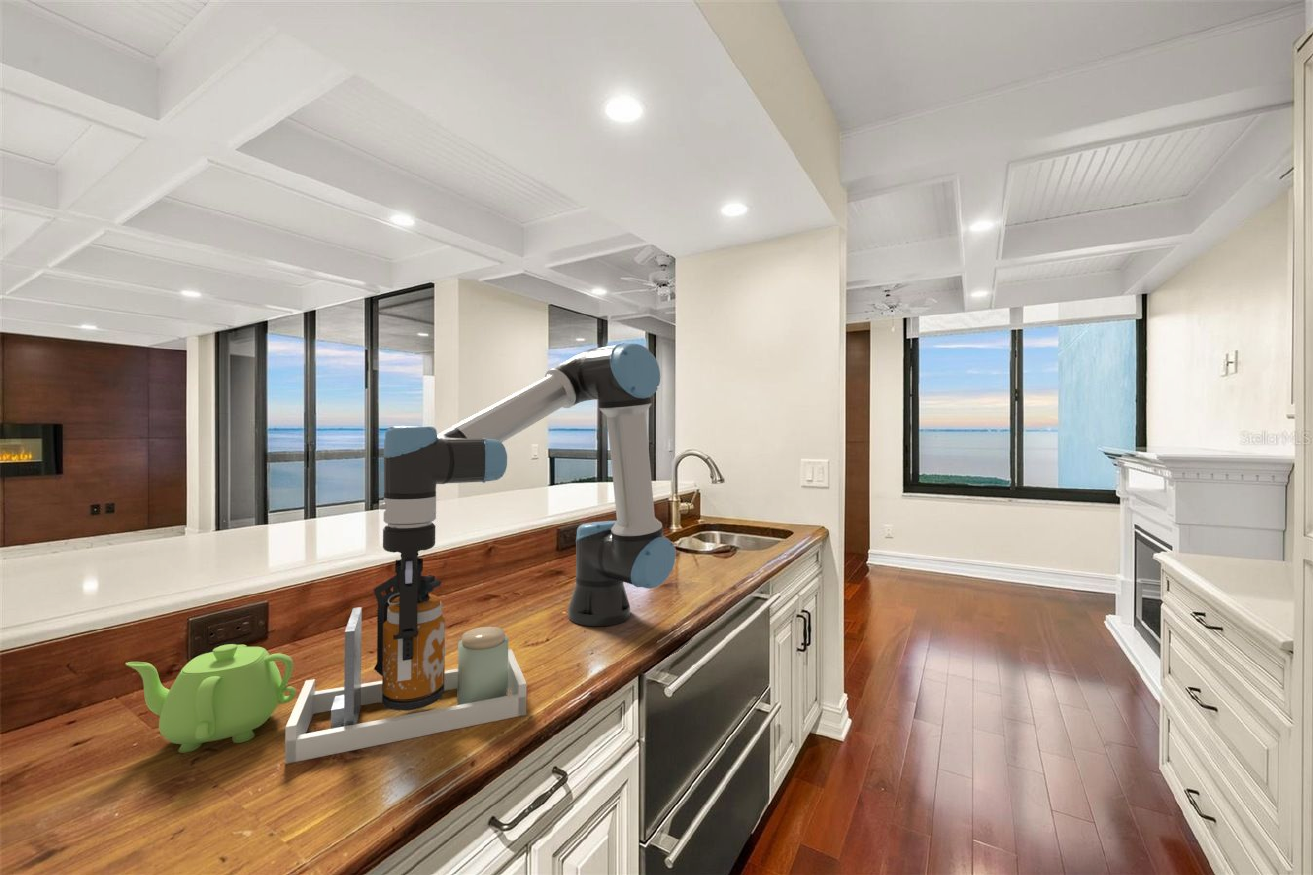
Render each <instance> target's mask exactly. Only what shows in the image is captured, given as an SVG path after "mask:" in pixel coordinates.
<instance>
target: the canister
mask: <svg viewBox="0 0 1313 875" xmlns="http://www.w3.org/2000/svg"><path fill="white" fill-rule="evenodd" d="M441 584H442V581H441V580H440V579H436V577H435V575H431V574H429V575H428V576H427V575H421V588H420V590H418V603H417V630H418V636H417V637H413V659H412V660H411V679H410V680H404V681H398V639H396V640H393V635H398V632H399V596H400V592H398V591H397V588H396V586H397V575H396V574H395V575H394V576H392V577H391V578H389V579H387V580H386V581H384V582H382V583H381V584H380V585H378V586H376V587H374V588H373V592H374V596H375V598H376V603H377V610H376V612H377V614H376V617H377V618H376V622H377V628H376V630H377V632H376V633H377V637H376V638H377V639H376V641H377V642H376V645H377V646H376V651H377V652H376V664H375V666H374V667H373V670H375V671H376V672H377V673H378V674H379V675H380V676H382V678H381V679H382V680H381V681H382V693H383V694H382V702H381V704H382V706H383V707H385V709H388V710H391V711H399V712H401V711H404V712H405V711H406V712H407V711H415V710H419V709H423V708H425V707H428V706H430V705H432V704H434V703H436V702H438V701H439V700H440V699H441V698H442V697H443V696H444V694H445V691H444V680H445V667H446V615H445V614H443V607H442V606H443V605H442V604H443V603H442V601H441V599H440V597H439V596H438V595H435V594H432V592H433V591H434V590H435V589H436V588H438V587H440V586H441ZM391 589H392V590H391ZM382 592H385V594H382ZM410 629H412V628H410ZM404 630H405V629H404ZM417 654H418V669H417ZM397 681H398V682H397Z"/></svg>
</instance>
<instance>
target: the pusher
mask: <svg viewBox="0 0 1313 875" xmlns="http://www.w3.org/2000/svg"><path fill="white" fill-rule="evenodd" d="M362 608H363V607H360V606H359V607H352V610H351V613H350V617H349V618H348V620H347V621H348V622H347V624H346V628H345V630H344V680H343V681H344V686H343V687H344V695H340V696H335V699H334V702H333V705H332V709H331V711H330V729H333V728H339V727H344V726H349V725H355V724H358V720H359V716H360V710H361V707H362V705H361V684H362V623H363V622H362V619H363V618H362V615H363V614H362V613H363V611H362Z"/></svg>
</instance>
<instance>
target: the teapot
mask: <svg viewBox="0 0 1313 875" xmlns="http://www.w3.org/2000/svg"><path fill="white" fill-rule="evenodd" d="M275 661H276V662H282V663H283V664H284V666H285V669H284V670H285V671H284V674H283V678H282V676H281V673H280V670H279V667H278V666H277V664H276V662H275ZM125 665H126V666H128V667H129V668H132V669H133V670H136V671H137V672H138V673H139V675H140V676H141V679H142V683H143V695H144V701H145V704H146V706H147V708H148V710H150V711H151V712H152V713H153V714H155V715H158V716H159V720H158V730H159V732H160V734H161V736H162V737H164V738H165V739H166V740H167V741H169V742H170V743H172V744H175V745H180V746H179V748H178V750H177V752H178V753H181V754H185V753H190V752H194V751H195V750H197V749H199V748H200V747H201V746H202V745H203V743H208V742H214V741H219V740H223V739H227V738H231V737H232V738H231V740H232V742H233V743H234V744H240V743H244V742H247V741H250V740H252V739H253V738H254V737H255V733H254V731H253V730H255V729H257V728H259V727H260V726H262V725H263V724H265V723H266V722H267V721H268V719H270V717H271V715H273V713H274V711H275V710H276V709H277V707H278V706H279V704H287V703H289V702H292V701H293V700H294V699H295V697H296V694H297V691H296V688H295V687H293V686H288V683H289V682H290V679H291V677H292V673H293V671H294V670H293V669H294V662H293V659H292V658H291V657H290V656H289V655H287V654H284V653H279V652H278V653H273V654H270V653H269V652H268V651H267V649H266V648H264V647H261V646H248V645H246V644H235V643H231V644H230V643H229V644H228V643H227V644H224V645H220V646H218V647H217V646H216V647H214V648H213V649H212V651H210V652H205V653H202V654H200V655H198V656H196V657H194V658H192V659H191V660H190V661H188V662H187V663H186V664H185V665H184V666H183V667H182V668H181V670H180V672H179V673H178V675H177V676H176V678H175V680H174V682H173V683H172V685H171V687H170V689H168V688H167V687H165V686H163V684H162V682H161V680H160V677H159V673H158V671H157V668H156V667H155V666H154V665H153V664H151V663H149V662H144V661H129V662H125ZM286 692H287V693H289V695H285V693H286Z"/></svg>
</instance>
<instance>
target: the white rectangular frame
mask: <svg viewBox="0 0 1313 875" xmlns="http://www.w3.org/2000/svg"><path fill="white" fill-rule="evenodd" d="M315 681H316V679H306V680H305V681H304V685H303V686H302V688H301V691H300V693H299V695H298V698H297V701H296V703H295V705H294V707H293V709H292V712H291V714H290V717H289V718H288V721H287V723H286V725H285V744H284V746H285V748H284V749H285V751H284V752H285V753H284V754H285V755H284V756H285V757H284V758H285V759H284V761H285V762H284V764H285V765H287V764H292V763H298V762H302V761H308V760H313V759H316V758H322V757H326V756H330V755H331V756H332V755H336V754H342V753H346V752H350V751H351V752H352V751H355V750H360V749H365V748H370V747H375V746H379V745H380V746H381V745H385V744H389V743H394V742H395V743H396V742H399V741H400V742H401V741H404V740H405V741H406V740H409V739H414V738H420V737H423V736H429V735H434V734H438V733H442V732H448V731H453V730H458V729H463V728H467V727H468V728H469V727H472V726H477V725H483V724H486V723H487V724H488V723H492V722H498V721H502V720H507V719H511V718H516V717H521V716H526V715H527V682H526V679H525V677H524V674H523V672H522V670H521V667H520V666H519V663H518V660H517V659H516V656H515V653H514V651H513V649H512V648H510V649H509V648H508V692H509V694H510V695H508V696H504V697H499V698H493V699H488V700H483V701H477V702H472V703H467V704H461V705H457V704H456V705H451V706H447V707H441V708H436V709H430V710H425V711H419V712H413V713H409V714H403V715H400V716H399V715H398V716H393V717H388V718H382V719H378V720H377V719H376V720H371V721H365V722H361V723H357V724H355V725H349V726H344V727H339V728H333V729H331V728H329V729H323V730H319V731H318V730H317V731H312V732H309V733H307V732H308V729H309V726H310V724H311V721H312V718H313V716H314V714H321V713H326V712H331V709H332V705H333V702H334V699H335V696H340V695H344V686H341V687H335V688H334V687H333V688H327V689H323V690H315V689H316V687H315V685H316V682H315ZM452 690H458V668H452V669H447V670H445V680H444V692H445V691H446V692H447V691H452ZM382 694H383V693H382V680H378V681H373V682H372V681H371V682H366V683H365V682H364V683H361V706H365V705H372V704H377V703H382Z"/></svg>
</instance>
